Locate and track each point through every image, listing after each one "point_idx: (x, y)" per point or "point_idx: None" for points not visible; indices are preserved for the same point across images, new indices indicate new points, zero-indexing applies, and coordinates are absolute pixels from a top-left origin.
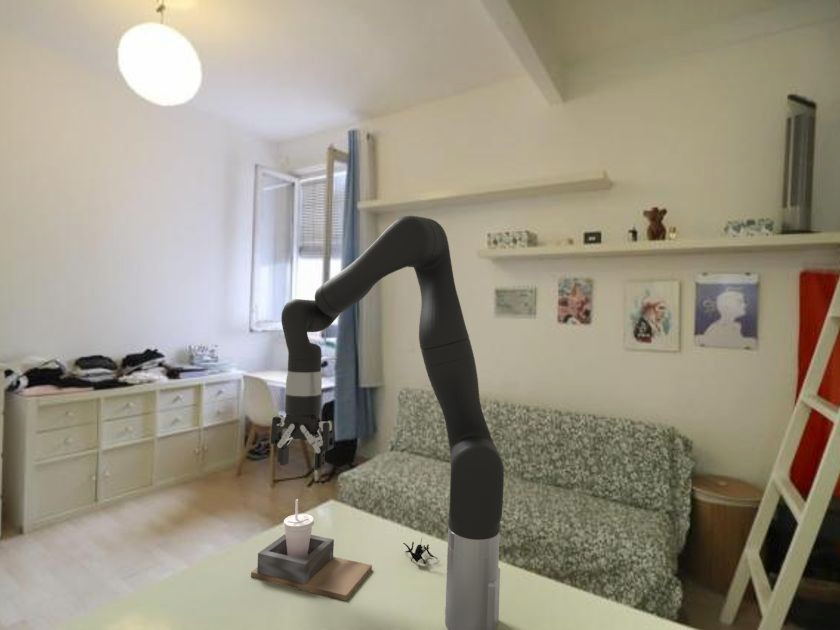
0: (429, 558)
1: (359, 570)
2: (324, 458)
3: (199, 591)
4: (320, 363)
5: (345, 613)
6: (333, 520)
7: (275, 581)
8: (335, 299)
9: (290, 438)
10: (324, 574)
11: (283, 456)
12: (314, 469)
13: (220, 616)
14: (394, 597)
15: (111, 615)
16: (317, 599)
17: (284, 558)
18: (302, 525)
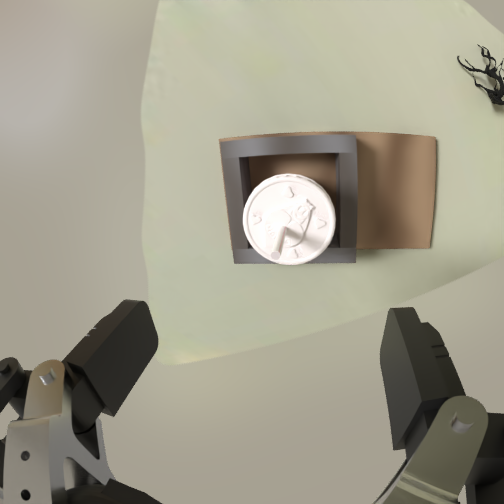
0: (495, 71)
1: (422, 164)
2: (451, 364)
3: (198, 303)
4: None
5: (433, 271)
6: None
7: None
8: None
9: (87, 461)
10: (367, 202)
11: (133, 375)
12: (380, 359)
13: (270, 334)
14: (485, 208)
15: (163, 357)
16: (382, 258)
17: None
18: (321, 250)
